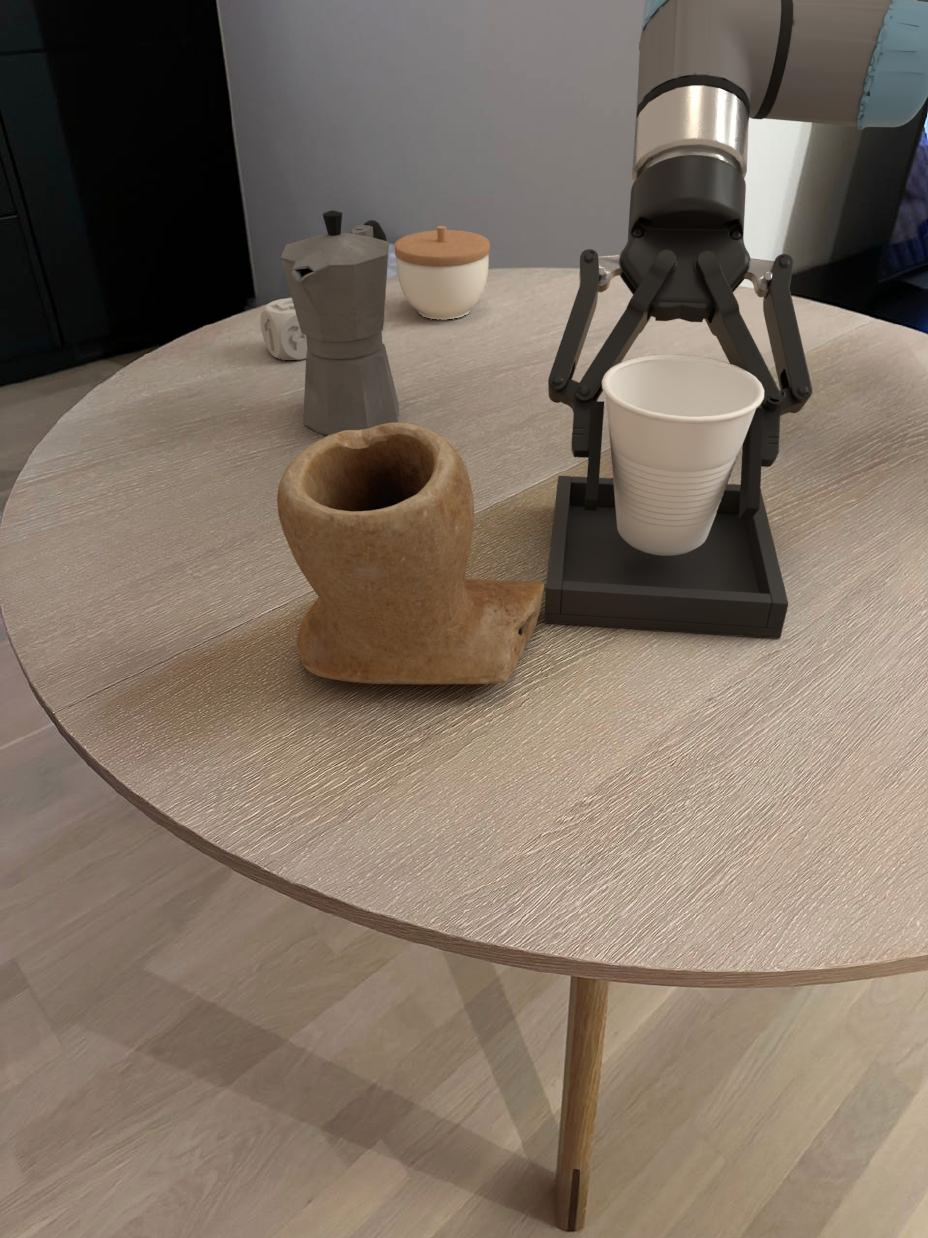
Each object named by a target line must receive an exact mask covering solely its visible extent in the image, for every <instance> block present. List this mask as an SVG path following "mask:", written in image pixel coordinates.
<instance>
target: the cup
mask: <svg viewBox="0 0 928 1238" xmlns="http://www.w3.org/2000/svg"><path fill="white" fill-rule="evenodd" d="M602 389H603V394H604V395H605V397H606V409H607V420H608V421H607V422H608V433H609V444H610V445H609V446H610V458H611V469H612V478H613V482H614V493H615V507H616V519H617V530H618V532H619V534H620V536H621V537H622V538H623V539H624V540H625V541H626V542H627V543H628V544H630V545H631V546H632V547H634V548H636V549H638V550H640V551H643V552H646V553H650V554H654V555H662V556H672V555H680V554H684V553H687V552H690V551H692V550H694V549H696V548H697V547H699V546H701V545H702V544H703V543H704V542H705V540H706V539H707V537H708V534H709V531H710V529H711V526H712V523H713V521H714V518H715V516H716V512H717V509H718V507H719V504H720V502H721V498H722V496H723V493H724V491H725V489H726V485H727V484H729V480H730V478H731V474H732V472H733V470H734V466H735V465H736V463H737V460H738V457H739V454H740V452H741V451H742V445H743V442H744V439H745V437H746V434H747V431H748V429H749V426H750V424H751V421H752V418H753V416H754V413H755V410H756V408H757V407H759V405H760V404H761V402H762V401H763V399H764V388H763V386H762V384H761V382H760V381H759V380H758V379H757V378H756V377H755V376H753V375H752V374H750V373H749V372H748V371H746V370H744V369H742V368H740V367H738V366H735V365H733V364H730V363H729V362H727V361H724V360H719V359H716V358H713V357H707V356H701V355H693V354H681V353H680V354H679V353H665V354H664V353H663V354H661V353H660V354H649V355H644V356H643V355H642V356H638V357H634V358H633V357H632V358H630V359H626V360H623V361H622V362H621V363H619V364H617V365H615V366H613V367H612V368H610V369H609V370H608V371H607V372H606V373H605V375H604V377H603V379H602Z"/></svg>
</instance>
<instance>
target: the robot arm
mask: <svg viewBox="0 0 928 1238" xmlns="http://www.w3.org/2000/svg"><path fill="white" fill-rule="evenodd" d="M643 7H644V9H643V15H642V25H641V32H640V40H639V42H638V51H639V55H638V57H639V58H638V74H637V75H638V76H637V95H636V96H637V97H636V114H635V115H636V116H635V117H636V118H635V122H634V123H635V125H634V137H633V139H634V140H633V151H632V152H633V153H632V154H633V155H632V165H631V167H632V168H631V180H632V183H633V184H632V186H631V189H630V196H629V197H630V198H629V212H628V213H629V214H628V228H627V229H628V230H627V241H626V244H625V246H624V247H623V249H622V250H621V252H620V254H612V255H599V253H598V252H597V251H596V250H594V249H592V248H588V249H585V250H583V251H582V252H581V253H580V256H579V273H578V275H579V276H578V277H579V278H578V281H579V286H578V290H577V293H576V295H575V298H574V301H573V304H572V308H571V310H570V314H569V316H568V320H567V322H566V325H565V329H564V331H563V334H562V337H561V340H560V343H559V346H558V348H557V352H556V354H555V357H554V360H553V364H552V367H551V370H550V373H549V376H548V380H547V387H548V388H547V390H548V397H549V400H550V401H551V402H552V403H555V404H559V403H561V404H564V405H567V406H568V407H569V408H571V410H572V412H573V415H572V416H573V418H572V431H571V432H572V433H571V444H570V445H571V448H570V449H571V453H572V456H573V458H586V459H587V470H586V471H587V473H586V477H587V485H586V499H585V510H590V511H596V509H597V502H598V488H599V478H600V471H601V459H602V443H603V442H602V441H603V426H604V412H605V401H604V400H603V401H602V400H599V398H600V397H601V396H602V393H604V391H603V389H602V379H603V377H604V375H605V373H606V372H607V371H608V370H609V369H610V368H612V367H613V366H615V365H617V364H619V363H621V362H623V361H624V359H625V357H626V355H627V354H628V352H629V351H630V349H631V347H632V346H633V344H634V343H635V341H636V340H637V338H638V336H639V335H640V334H642V332H643V331H644V329H645V328H646V326H647V324H648V323H649V322H650V320H651V318H652V317H653V318H654V321H655V322H669V321H674V320H682V321H685V322H689V323H703V321H705V323H706V325H707V326H708V328H709V331H710V332H711V334H712V336H714V337H716V339H717V341H718V344H719V345H720V347H721V350H722V351H723V353H724V355H725V357H726V360H727V361H728V363H730V364H733V365H735V366H738V367H740V368H742V369H744V370H746V371H748V372H749V373H750V374H752V375H753V376H755V377H756V378H757V379H758V380H759V381H760V382H761V384H762V386H763V388H764V399H763V401H762V402H761V404H760V405H759V407H757V408H756V410H755V413H754V416H753V418H752V421H751V424H750V426H749V429H748V431H747V434H746V437H745V439H744V442H743V445H742V447H741V467H740V485H741V486H740V507H739V519H752V517H753V516H754V515H755V514H756V513H757V511H758V510H759V509H760V488H762V487H761V485H762V467H763V468H766V467H767V468H771V467H772V465H773V464H774V463H775V461H776V460H777V457H778V456H779V453H780V435H781V432H780V431H781V417H782V416H783V415H786V414H797V413H799V412H800V411H801V410H802V409H803V408H804V406H805V404H806V403H808V400H809V399H810V398H811V396H812V395H813V385H812V380H811V377H810V372H809V368H808V363H807V359H806V356H805V355H806V354H805V351H804V346H803V342H802V337H801V333H800V328H799V324H798V319H797V315H796V310H795V306H794V302H793V297H792V292H791V288H790V287H791V281H792V275H793V269H794V259H793V257H792V256H791V255H790V254H786V253H780V254H779V255H777V256H776V257H775V259H774V260H768V259H767V260H766V259H759V258H752V257H751V255H750V253H749V251H748V250H747V247H746V245H745V241H744V233H745V215H746V214H745V212H746V193H747V184H746V180H745V179H746V176H747V171H748V151H749V149H748V147H749V121H750V119H751V120H764V119H767V120H777V121H789V122H801V123H811V124H812V123H813V124H823V125H834V126H846V127H855V128H856V129H857V130H864V129H865V128H897V127H898V128H899V127H902V126H904V125H905V124H908V123H909V122H910V121H911V120H913V118H914V117H916V115H917V114H918V113H919V111H920V110H921V109H922V108H923V106H924V104H925V102H926V101H927V99H928V1H923V0H644V6H643ZM618 276H619V277H620V279H621V281H622V282H623V283H624V284H625V286H626V287H627V289H628V290H629V292H630V293H631V294H632V296H631V298H630V300H629V301H628V303H627V305H626V308H625V310H624V312H623V313H622V315H620V318H619V319H618V321H617V322H616V324H615V326H614V327H613V329H612V330H611V332H610V334H609V335H608V337H607V338H606V340H605V341H604V343H603V345H602V346H601V348H600V349H599V351H598V353H597V354H596V356H595V357H594V359H593V360H592V362H591V363H590V366H589V367H588V368H587V370H586V371H585V372H584V374H583V376H582V378H581V379H580V381H576V380H574V379H573V378H574V375H575V371H576V369H577V366H578V362H579V360H580V357H581V355H582V351H583V348H584V345H585V341H586V339H587V335H588V333H589V330H590V327H591V324H592V321H593V318H594V315H595V312H596V309H597V305H598V298H599V293H600V294H601V293H603V292H605V291H607V290H608V289H609V288H610V285H611V282H612V280H614V278H616V277H618ZM745 280H748V281H750V282H751V283H752V285H753V290H754V293H755V294H756V296H757V297H759V298H762V299H763V300H762V311H763V318H764V321H765V327H766V331H767V335H768V339H769V344H770V348H771V354H772V358H773V362H774V363H773V364H774V367H775V371H776V376H777V382H778V385H779V387H778V385H777V382H776V381H775V379H774V377H773V375H772V373H771V371H770V369H769V366H768V365H767V363H766V361H765V359H764V358H763V355H762V353H761V351H760V349H759V348H758V345H757V343H756V342H755V340H754V338H753V335H752V333H751V331H750V330H749V327H748V326H747V324H746V321H745V320H744V318H743V316H742V313H741V311H740V304H739V302H738V299H737V298H736V296H735V294H734V293H735V291H736V290H737V289H738V287H739V286H741V285H742V283H743V282H744V281H745Z"/></svg>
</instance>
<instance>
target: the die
mask: <svg viewBox="0 0 928 1238" xmlns="http://www.w3.org/2000/svg"><path fill="white" fill-rule="evenodd" d="M260 328H261V334H262V338H263V341H264V343H265V346H266V348H267V351H268V352H269V353H270V355H271V356H272V357H273V358H275V357H276V358H275V359H277V358H278V359H277V360H280V359H282V360H281V361H285V360H297V361H302V360H306V354H307V341H306V335H305V334H303V333H301V330H300V326H299V322H298V319H297V315H296V312H295V308H294V304H293V301H292V297H287V298H280V299H276V300H273V301H271V302H269V303H266V305H265V307H264V308H263V309H262V311H261V314H260Z"/></svg>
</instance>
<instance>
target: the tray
mask: <svg viewBox="0 0 928 1238" xmlns="http://www.w3.org/2000/svg"><path fill="white" fill-rule="evenodd" d="M586 485H587V476H573V475H572V476H571V475H558V476H557V483H556V491H555V492H556V493H555V500H554V501H555V504H554V511H553V519H552V520H553V522H552V529H551V537H550V545H549V546H550V547H549V554H548V555H549V557H548V566H547V575H546V582H545V583H546V584H545V595H544V596H545V598H544V599H545V600H544V621H543V622H544V623H545V624H558V625H571V626H572V625H573V626H587V627H601V628H603V627H604V628H616V629H629V630H630V629H631V630H643V631H645V630H647V631H661V632H674V633H687V634H689V633H691V634H704V635H705V634H706V635H720V636H734V637H748V638H749V637H750V638H765V639H778V640H779V639H781V637H782V632H783V628H784V625H785V620H786V616H787V611H788V607H789V601H788V596H787V592H786V588H785V584H784V580H783V575H782V572H781V568H780V563H779V558H778V555H777V551H776V546H775V542H774V539H773V534H772V530H771V526H770V521H769V517H768V513H767V510H766V505H765V502H764V497H763V492H762V489H761V488H762V487H760V509H759V510H758V511H757V513H756V514H755V515H754V516H753V517H752V519H739V507H740V486H741V484H736V483H735V484H733V483H727V485H726V489H725V491H724V493H723V496H722V498H721V502H720V504H719V507H718V509H717V512H716V516H715V518H714V521H713V523H712V526H711V529H710V531H709V534H708V537H707V539H706V540H705V542H704V543H703V544H702V545H701V546H699V547H697V548H696V549H694V550H692V551H690V552H687V553H684V554H680V555H672V556H662V555H654V554H650V553H646V552H643V551H640V550H638V549H636V548H634V547H632V546H631V545H630V544H628V543H627V542H626V541H625V540H624V539H623V538H622V537H621V536H620V534H619V532H618V530H617V519H616V507H615V493H614V482H613V477H599V488H598V502H597V509H596V511H590V510H585V499H586Z"/></svg>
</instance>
